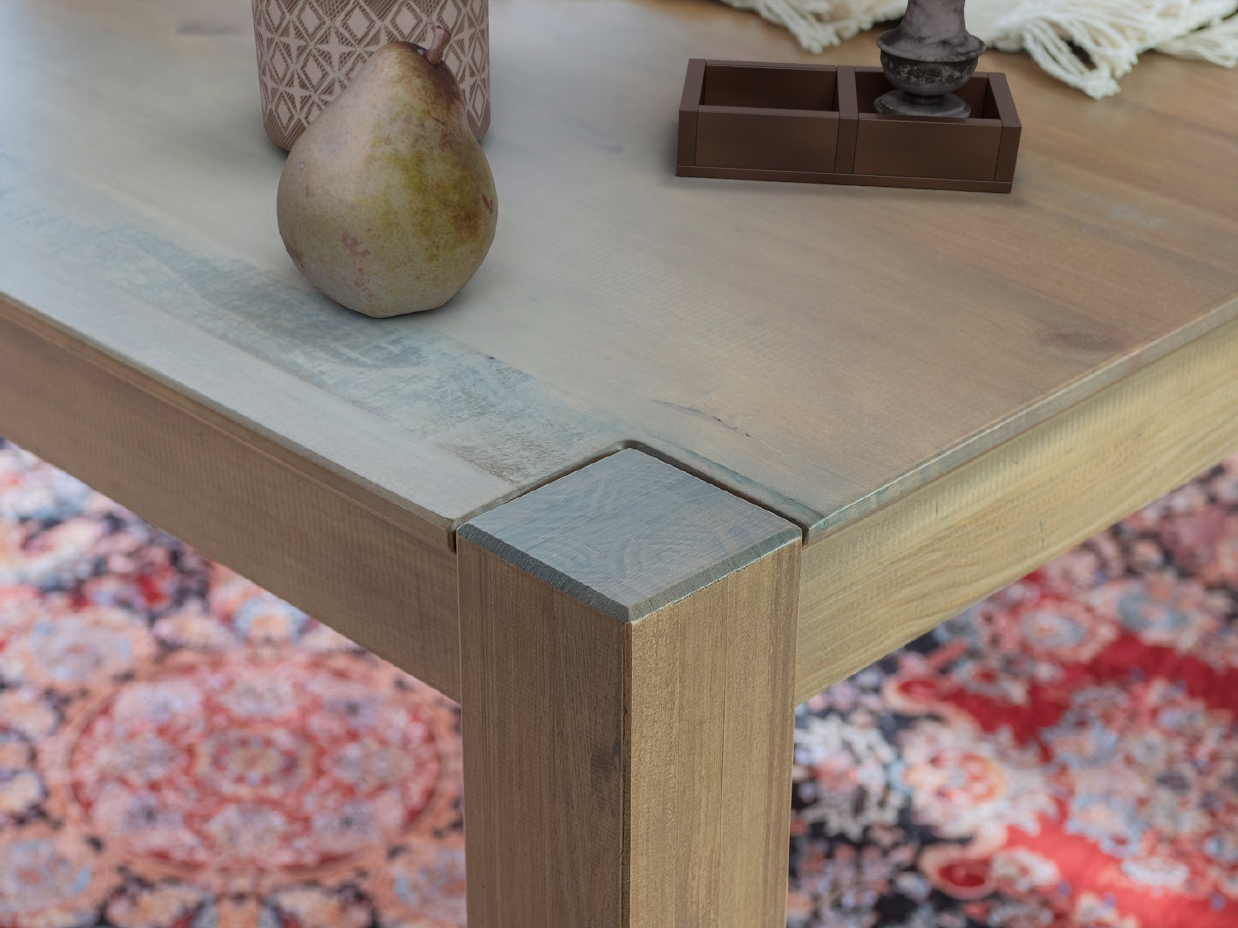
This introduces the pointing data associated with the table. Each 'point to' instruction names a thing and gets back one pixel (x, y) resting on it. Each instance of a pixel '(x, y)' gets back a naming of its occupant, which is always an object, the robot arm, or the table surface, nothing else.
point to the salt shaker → (928, 60)
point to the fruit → (390, 187)
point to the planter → (358, 53)
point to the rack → (840, 129)
